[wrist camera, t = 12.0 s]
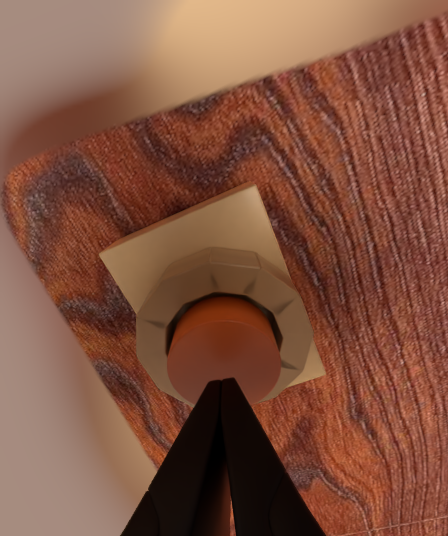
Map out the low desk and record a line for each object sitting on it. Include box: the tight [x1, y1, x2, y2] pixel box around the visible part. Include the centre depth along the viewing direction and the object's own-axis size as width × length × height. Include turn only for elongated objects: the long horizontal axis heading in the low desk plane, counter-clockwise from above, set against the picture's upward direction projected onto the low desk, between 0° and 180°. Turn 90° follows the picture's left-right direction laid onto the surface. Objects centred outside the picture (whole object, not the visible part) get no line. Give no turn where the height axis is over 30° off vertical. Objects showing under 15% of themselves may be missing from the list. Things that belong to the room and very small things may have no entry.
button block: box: [99, 181, 326, 407], centre depth 12 cm, size 10×7×4 cm
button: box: [167, 296, 281, 406], centre depth 10 cm, size 4×4×2 cm
